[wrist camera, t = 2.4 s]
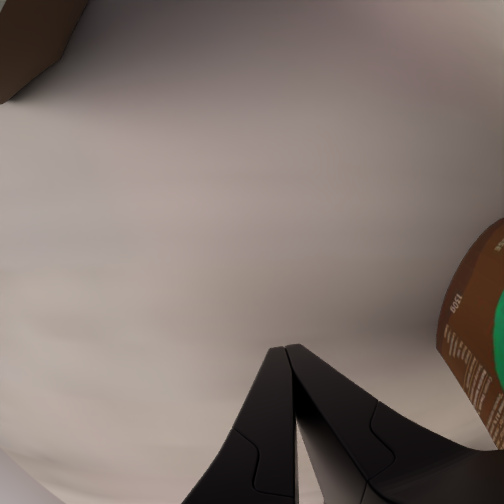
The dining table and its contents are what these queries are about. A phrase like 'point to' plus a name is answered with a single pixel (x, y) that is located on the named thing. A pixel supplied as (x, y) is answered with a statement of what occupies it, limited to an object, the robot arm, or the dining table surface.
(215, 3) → the dining table surface
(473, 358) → the food container
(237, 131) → the dining table surface
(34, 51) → the beer bottle
